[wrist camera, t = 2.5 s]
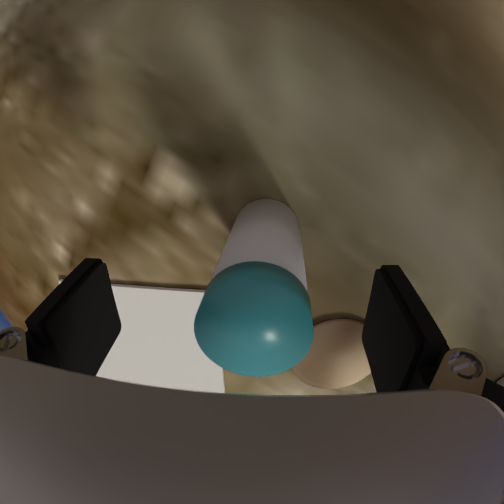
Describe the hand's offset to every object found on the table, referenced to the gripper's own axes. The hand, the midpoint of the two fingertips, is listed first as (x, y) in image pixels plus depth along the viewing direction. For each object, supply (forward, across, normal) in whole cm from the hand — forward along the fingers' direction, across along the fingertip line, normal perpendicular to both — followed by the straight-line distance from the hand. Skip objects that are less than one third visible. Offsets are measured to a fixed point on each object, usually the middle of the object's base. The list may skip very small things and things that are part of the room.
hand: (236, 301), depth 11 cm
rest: (+7, -6, +10) cm, 13 cm away
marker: (+8, -1, +1) cm, 8 cm away
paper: (+8, +8, +10) cm, 15 cm away
